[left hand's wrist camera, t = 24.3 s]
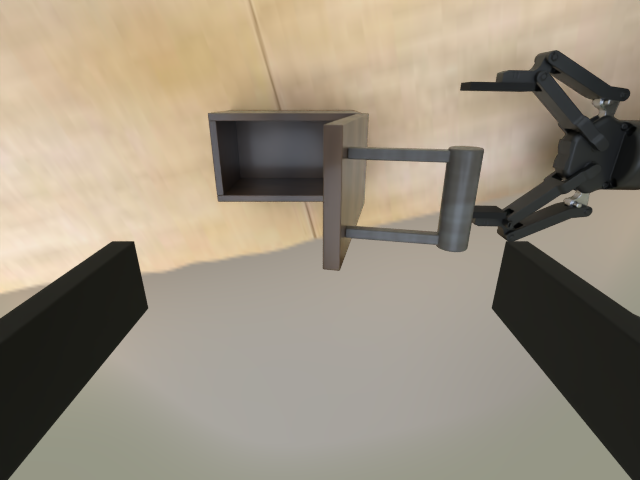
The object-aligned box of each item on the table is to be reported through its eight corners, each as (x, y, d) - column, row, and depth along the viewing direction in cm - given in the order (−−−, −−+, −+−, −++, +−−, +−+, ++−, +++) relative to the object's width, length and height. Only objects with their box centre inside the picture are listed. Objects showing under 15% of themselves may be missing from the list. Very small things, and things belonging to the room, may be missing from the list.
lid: (322, 269, 23) (470, 284, 21) (323, 124, 20) (498, 127, 18) (353, 202, 38) (442, 208, 36) (357, 113, 35) (455, 114, 33)
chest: (236, 182, 48) (217, 201, 39) (230, 110, 44) (207, 113, 35) (351, 182, 48) (358, 201, 39) (353, 110, 44) (362, 113, 35)
